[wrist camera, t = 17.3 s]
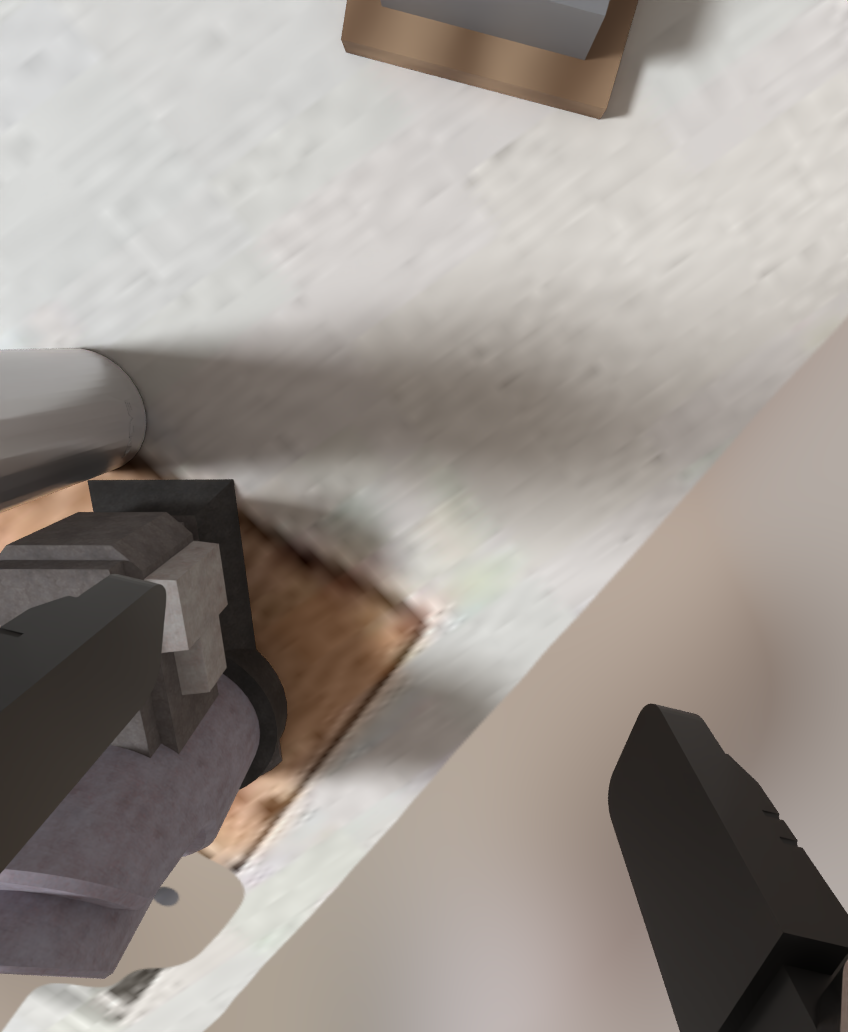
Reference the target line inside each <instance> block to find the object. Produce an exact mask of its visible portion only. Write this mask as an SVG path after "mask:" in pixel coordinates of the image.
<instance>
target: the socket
mask: <svg viewBox="0 0 848 1032" xmlns="http://www.w3.org/2000/svg"><path fill="white" fill-rule="evenodd" d="M380 1H381V5H382V6H383V7H387V8H390V9H394V10H398V11H402V12H405V13H409V14H413V15H417V16H420V17H424V18H428V19H432V20H435V21H439V22H443V23H447V24H450V25H454V26H458V27H462V28H465V29H469V30H473V31H477V32H480V33H484V34H488V35H492V36H495V37H499V38H503V39H507V40H510V41H514V42H518V43H522V44H525V45H529V46H533V47H537V48H540V49H544V50H548V51H552V52H555V53H559V54H563V55H567V56H570V57H574V58H578V59H582V60H585V58H586V56H587V54H588V52H589V50H590V48H591V45H592V43H593V41H594V39H595V37H596V35H597V33H598V30H599V28H600V26H601V24H602V22H603V20H604V17H605V15H606V11H607V8H608V4H609V1H610V0H380Z"/></svg>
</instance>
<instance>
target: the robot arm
mask: <svg viewBox="0 0 848 1032" xmlns="http://www.w3.org/2000/svg"><path fill="white" fill-rule="evenodd" d="M145 431H146V413H145V409H144V405H143V401H142V399H141V396H140V394H139V392H138V390H137V388H136V386H135V385H134V383H133V382H132V380H131V379H130V377H129V376H128V375H127V374H126V373H125V372H124V371H123V370H122V369H121V368H120V367H119V366H118V365H117V364H115V363H114V362H112V361H111V360H110V359H108V358H107V357H105V356H102V355H100V354H98V353H96V352H94V351H89V350H85V349H81V348H59V349H8V350H0V513H2V512H5V511H7V510H10V509H13V508H15V507H18V506H20V505H23V504H26V503H28V502H31V501H33V500H36V499H39V498H41V497H44V496H46V495H49V494H52V493H54V492H57V491H59V490H62V489H65V488H67V487H70V486H72V485H75V484H78V483H80V482H83V481H86V480H88V479H91V478H94V477H96V476H99V475H101V474H104V473H106V472H109V471H112V470H114V469H116V468H119V467H121V466H123V465H125V464H126V463H127V462H129V461H130V460H131V459H132V458H133V457H134V456H135V455H136V453H137V452H138V451H139V449H140V447H141V445H142V442H143V440H144V436H145ZM165 609H166V590H165V588H164V586H163V585H161V584H157V583H153V582H149V581H145V580H140V579H136V578H132V577H128V576H124V575H120V574H111V575H109V576H107V577H106V578H104V579H103V580H101V581H100V582H98V583H97V584H96V585H94V586H93V587H91V588H90V589H88V590H87V591H85V592H84V593H82V594H81V595H79V596H78V597H73V596H65V597H62V598H59V599H56V600H53V601H50V602H47V603H44V604H41V605H38V606H35V607H32V608H29V609H28V610H26V611H25V612H23V613H22V614H20V615H18V616H17V617H15V618H14V619H12V620H11V621H9V622H7V623H6V624H4V625H3V626H1V627H0V874H1V872H2V871H3V870H4V869H5V868H6V867H7V865H8V864H9V863H10V862H11V861H12V859H13V858H14V857H15V856H16V855H17V854H18V852H19V851H20V850H21V849H22V848H23V847H24V845H25V844H26V843H27V842H28V841H29V839H30V838H31V837H32V836H33V835H34V834H35V832H36V831H37V830H38V829H39V828H40V827H41V825H42V824H43V823H44V822H45V821H46V819H47V818H48V817H49V816H50V815H51V814H52V812H53V811H54V810H55V809H56V808H57V807H58V805H59V804H60V803H61V802H62V801H63V799H64V798H65V797H66V796H67V795H68V794H69V792H70V791H71V790H72V789H73V788H74V787H75V785H76V784H77V783H78V782H79V781H80V779H81V778H82V777H83V776H84V775H85V774H86V772H87V771H88V770H89V769H90V768H91V767H92V765H93V764H94V763H95V762H96V761H97V759H98V758H99V757H100V756H101V755H102V754H103V752H104V751H105V750H106V749H107V748H108V747H109V745H110V744H111V743H112V742H113V741H114V739H115V738H116V737H117V736H118V735H119V734H120V732H121V731H122V730H123V729H124V728H125V727H126V725H127V724H128V723H129V722H130V721H131V719H132V718H133V717H134V716H135V715H136V714H137V712H138V711H139V710H140V709H141V708H142V706H143V705H144V704H145V702H146V701H147V699H148V698H149V696H150V694H151V692H152V690H153V688H154V685H155V683H156V680H157V677H158V674H159V669H160V662H161V652H162V641H163V631H164V620H165ZM608 805H609V813H610V817H611V820H612V823H613V827H614V830H615V833H616V836H617V839H618V842H619V845H620V848H621V851H622V854H623V857H624V860H625V864H626V867H627V870H628V872H629V876H630V879H631V882H632V885H633V888H634V891H635V894H636V897H637V901H638V904H639V907H640V910H641V913H642V916H643V919H644V922H645V925H646V928H647V931H648V934H649V938H650V941H651V944H652V947H653V950H654V953H655V956H656V959H657V962H658V965H659V968H660V972H661V975H662V978H663V981H664V984H665V987H666V990H667V993H668V996H669V999H670V1002H671V1005H672V1008H673V1012H674V1015H675V1018H676V1021H677V1024H678V1027H679V1030H680V1032H848V914H847V913H846V911H845V910H844V908H843V907H842V905H841V904H840V902H839V901H838V899H837V898H836V896H835V895H834V893H833V892H832V890H831V889H830V888H829V886H828V885H827V883H826V882H825V880H824V879H823V877H822V876H821V875H820V873H819V871H818V870H817V869H816V867H815V866H814V864H813V863H812V861H811V860H810V858H809V857H808V855H807V854H806V852H805V851H804V849H803V848H801V847H798V846H797V839H796V838H795V836H794V835H793V833H792V832H791V830H790V829H789V828H788V826H787V825H786V823H785V822H784V821H783V820H780V819H779V813H778V811H777V810H776V808H775V807H774V805H773V804H772V802H771V801H770V800H769V798H768V797H767V795H766V794H765V792H764V791H763V789H762V788H761V786H760V785H759V784H758V782H757V781H755V780H754V778H752V777H751V776H750V775H749V774H748V773H747V772H746V771H745V770H744V769H743V768H742V767H741V766H740V765H739V764H738V763H737V762H735V761H734V760H733V758H731V757H730V756H729V755H728V754H725V753H724V751H723V750H722V748H721V747H720V745H719V743H718V742H717V740H716V739H715V737H714V736H713V734H712V733H711V731H710V730H709V728H708V727H707V725H706V723H705V722H704V720H703V719H702V718H701V717H700V716H699V715H697V714H693V713H689V712H685V711H681V710H677V709H672V708H668V707H664V706H660V705H656V704H648V705H646V706H645V707H644V708H643V709H642V710H641V712H640V714H639V716H638V718H637V720H636V722H635V725H634V727H633V729H632V731H631V733H630V736H629V738H628V740H627V742H626V745H625V747H624V749H623V751H622V754H621V756H620V758H619V760H618V762H617V765H616V767H615V769H614V771H613V774H612V777H611V780H610V785H609V793H608Z"/></svg>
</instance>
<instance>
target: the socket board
mask: <svg viewBox="0 0 848 1032" xmlns="http://www.w3.org/2000/svg"><path fill="white" fill-rule="evenodd" d="M637 3H638V0H610V1H609V4H608V8H607V11H606V15H605V17H604V20H603V22H602V24H601V26H600V28H599V30H598V33H597V35H596V37H595V39H594V41H593V43H592V45H591V48H590V50H589V52H588V54H587V56H586V58H585V60H582V59H578V58H574V57H570V56H567V55H563V54H559V53H555V52H552V51H548V50H544V49H540V48H537V47H533V46H529V45H525V44H522V43H518V42H514V41H510V40H507V39H503V38H499V37H495V36H492V35H488V34H484V33H480V32H477V31H473V30H469V29H465V28H462V27H458V26H454V25H450V24H447V23H443V22H439V21H435V20H432V19H428V18H424V17H420V16H417V15H413V14H409V13H405V12H402V11H398V10H394V9H390V8H387V7H383V6H382V5H381V1H380V0H347V4H346V11H345V17H344V24H343V30H342V37H341V40H342V43H343V45H344V48H345V51H346V52H347V53H351V54H355V55H359V56H362V57H366V58H370V59H374V60H377V61H381V62H385V63H389V64H393V65H396V66H400V67H404V68H408V69H411V70H415V71H419V72H423V73H427V74H430V75H434V76H438V77H442V78H446V79H449V80H453V81H457V82H461V83H464V84H468V85H472V86H476V87H480V88H483V89H487V90H491V91H495V92H498V93H502V94H506V95H510V96H514V97H517V98H521V99H525V100H529V101H533V102H536V103H540V104H544V105H548V106H551V107H555V108H559V109H563V110H567V111H570V112H574V113H578V114H582V115H585V116H589V117H593V118H597V119H600V118H601V117H602V115H603V114H604V112H605V111H606V109H607V105H608V102H609V98H610V95H611V92H612V88H613V85H614V81H615V78H616V75H617V71H618V68H619V64H620V61H621V58H622V54H623V51H624V47H625V44H626V40H627V37H628V34H629V30H630V27H631V23H632V20H633V17H634V13H635V10H636V6H637Z"/></svg>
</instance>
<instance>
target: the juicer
mask: <svg viewBox="0 0 848 1032" xmlns="http://www.w3.org/2000/svg"><path fill="white" fill-rule="evenodd" d="M88 485H89V490H90V496H91V501H92V506H93V511H94V512H78V513H75V514H73V515H71V516H69V517H67V518H65V519H62V520H60V521H58V522H56V523H54V524H52V525H49V526H47V527H45V528H43V529H41V530H38V531H36V532H34V533H32V534H30V535H28V536H25V537H23V538H21V539H19V540H17V541H15V542H12V543H10V544H8V545H6V546H5V548H4V549H3V550H2V552H1V553H0V627H1V626H3V625H4V624H6V623H7V622H9V621H11V620H12V619H14V618H15V617H17V616H18V615H20V614H22V613H23V612H25V611H26V610H28V609H29V608H32V607H35V606H38V605H41V604H44V603H47V602H50V601H53V600H56V599H59V598H62V597H65V596H73V597H78V596H79V595H81V594H82V593H84V592H85V591H87V590H88V589H90V588H91V587H93V586H94V585H96V584H97V583H98V582H100V581H101V580H103V579H104V578H106V577H107V576H109V575H111V574H120V575H124V576H128V577H132V578H136V579H140V580H145V581H149V582H153V583H157V584H161V585H163V586H164V588H165V590H166V609H165V620H164V631H163V641H162V652H161V662H160V669H159V674H158V677H157V680H156V683H155V685H154V688H153V690H152V692H151V694H150V696H149V698H148V699H147V701H146V702H145V704H144V705H143V706H142V708H141V709H140V710H139V711H138V712H137V714H136V715H135V716H134V717H133V718H132V719H131V721H130V722H129V723H128V724H127V725H126V727H125V728H124V729H123V730H122V731H121V732H120V734H119V735H118V736H117V737H116V738H115V739H114V741H113V742H112V743H111V744H110V745H109V747H108V748H107V749H106V750H105V751H104V752H103V754H102V755H101V756H100V757H99V758H98V759H97V761H96V762H95V763H94V764H93V765H92V767H91V768H90V769H89V770H88V771H87V772H86V774H85V775H84V776H83V777H82V778H81V779H80V781H79V782H78V783H77V784H76V785H75V787H74V788H73V789H72V790H71V791H70V792H69V794H68V795H67V796H66V797H65V798H64V799H63V801H62V802H61V803H60V804H59V805H58V807H57V808H56V809H55V810H54V811H53V812H52V814H51V815H50V816H49V817H48V818H47V819H46V821H45V822H44V823H43V824H42V825H41V827H40V828H39V829H38V830H37V831H36V832H35V834H34V835H33V836H32V837H31V838H30V839H29V841H28V842H27V843H26V844H25V845H24V847H23V848H22V849H21V850H20V851H19V852H18V854H17V855H16V856H15V857H14V858H13V859H12V861H11V862H10V863H9V864H8V865H7V867H6V868H5V869H4V870H3V871H2V872H1V874H0V973H3V974H21V975H40V976H60V977H80V978H102V979H104V978H106V977H107V976H109V975H111V974H112V973H113V972H114V970H115V969H116V967H117V965H118V963H119V961H120V959H121V957H122V955H123V954H124V951H125V950H126V948H127V946H128V944H129V942H130V941H131V939H132V937H133V935H134V933H135V931H136V929H137V928H138V926H139V924H140V922H141V920H142V918H143V917H144V915H145V913H146V911H147V909H148V907H149V905H150V904H151V902H152V900H153V898H154V896H155V894H156V893H157V891H158V889H159V888H160V886H161V885H162V884H163V882H164V881H165V879H166V878H167V877H168V875H169V874H170V872H171V871H172V870H173V868H174V867H175V866H176V864H177V863H178V861H179V860H180V858H181V857H183V856H187V855H190V854H192V853H195V852H197V851H199V850H201V849H203V848H205V847H207V846H209V845H210V844H211V843H212V842H213V841H214V839H215V838H216V836H217V834H218V832H219V830H220V828H221V826H222V824H223V821H224V819H225V817H226V815H227V813H228V811H229V809H230V807H231V805H232V803H233V801H234V799H235V796H236V794H237V792H238V790H240V789H242V788H244V787H246V786H247V785H249V784H250V783H252V782H253V781H254V780H256V779H257V778H258V777H259V776H261V775H263V774H265V773H266V772H268V771H270V770H272V769H273V768H274V767H275V766H277V765H278V764H279V763H280V762H281V761H282V755H281V747H280V738H281V736H282V734H283V731H284V729H285V724H286V719H287V701H286V697H285V693H284V689H283V686H282V684H281V682H280V680H279V678H278V676H277V674H276V672H275V671H274V670H273V668H272V667H271V665H270V664H269V662H268V661H267V660H266V659H265V658H264V657H263V656H262V655H261V654H260V653H259V652H258V651H257V650H256V645H255V638H254V631H253V623H252V616H251V608H250V601H249V593H248V586H247V578H246V571H245V564H244V556H243V549H242V541H241V534H240V526H239V519H238V511H237V504H236V497H235V489H234V482H233V479H225V480H88Z"/></svg>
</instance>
